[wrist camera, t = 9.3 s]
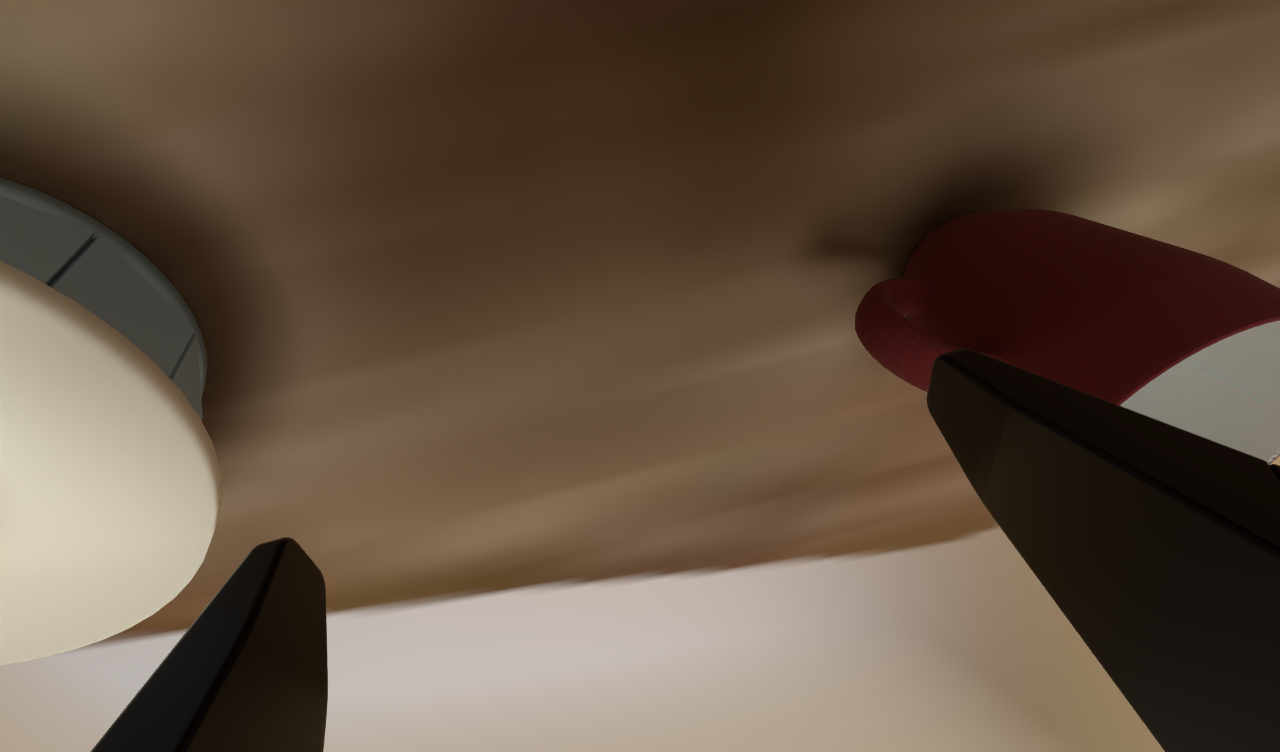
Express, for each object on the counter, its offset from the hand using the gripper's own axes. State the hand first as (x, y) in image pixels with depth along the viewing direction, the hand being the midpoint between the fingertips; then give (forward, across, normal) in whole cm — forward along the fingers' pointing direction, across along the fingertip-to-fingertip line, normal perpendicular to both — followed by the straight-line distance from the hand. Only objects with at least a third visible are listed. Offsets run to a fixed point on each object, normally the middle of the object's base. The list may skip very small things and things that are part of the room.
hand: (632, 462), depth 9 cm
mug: (+12, -13, +7) cm, 19 cm away
